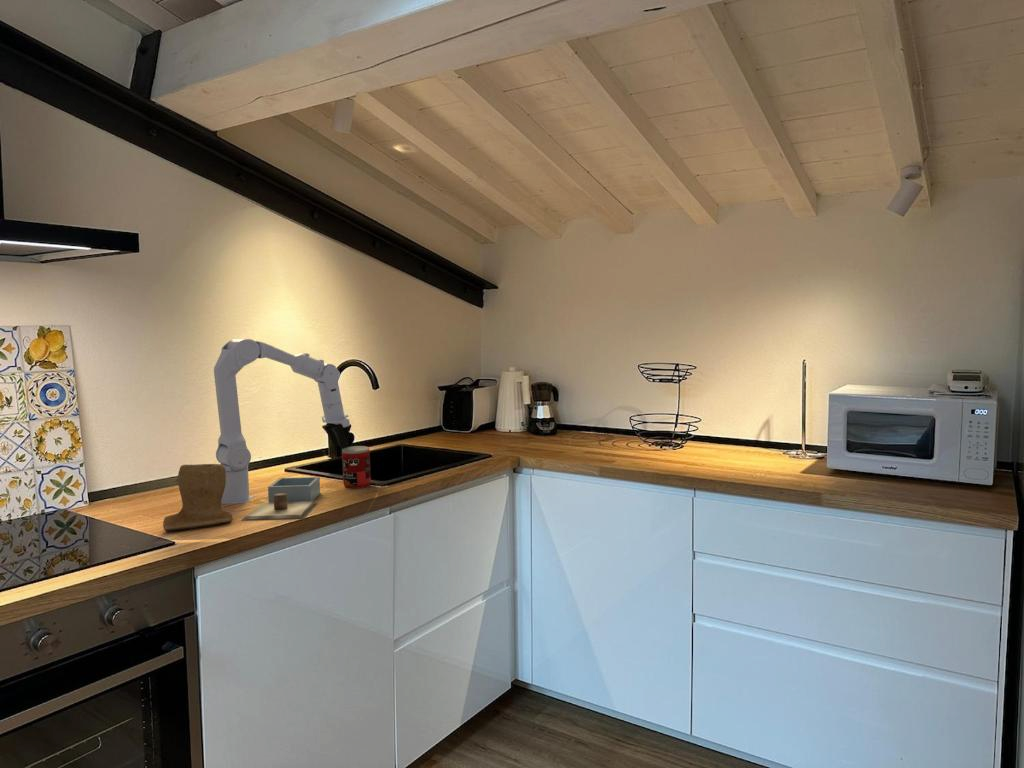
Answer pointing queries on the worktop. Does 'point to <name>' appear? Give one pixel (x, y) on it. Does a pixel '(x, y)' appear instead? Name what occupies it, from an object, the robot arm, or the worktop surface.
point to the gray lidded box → (295, 489)
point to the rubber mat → (285, 518)
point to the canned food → (356, 466)
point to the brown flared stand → (199, 497)
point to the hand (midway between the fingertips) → (340, 447)
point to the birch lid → (280, 509)
